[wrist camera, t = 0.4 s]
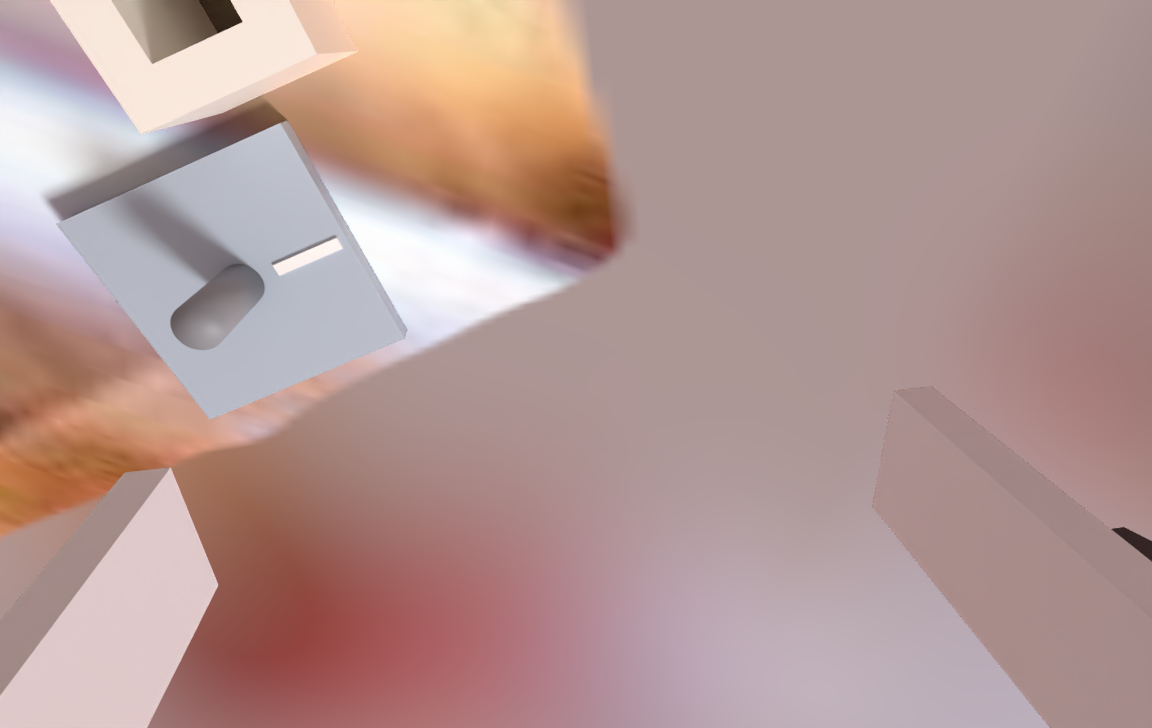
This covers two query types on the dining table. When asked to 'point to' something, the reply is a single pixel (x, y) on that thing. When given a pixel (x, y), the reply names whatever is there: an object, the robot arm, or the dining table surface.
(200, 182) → the plate
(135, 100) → the cube with square hole
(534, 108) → the dining table surface
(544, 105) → the dining table surface
